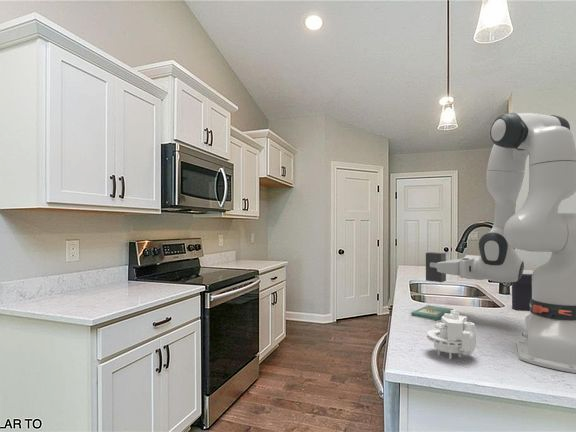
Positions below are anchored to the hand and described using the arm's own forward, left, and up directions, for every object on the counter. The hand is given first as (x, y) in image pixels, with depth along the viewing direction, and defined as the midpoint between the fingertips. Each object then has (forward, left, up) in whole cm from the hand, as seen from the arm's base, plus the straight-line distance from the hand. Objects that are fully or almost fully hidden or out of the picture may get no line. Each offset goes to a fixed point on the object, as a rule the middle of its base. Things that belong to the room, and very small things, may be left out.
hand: (433, 264), depth 139 cm
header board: (+1, +1, -20) cm, 20 cm away
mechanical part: (-42, -19, -20) cm, 50 cm away
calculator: (+36, -26, -20) cm, 49 cm away
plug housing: (0, -1, -6) cm, 7 cm away
